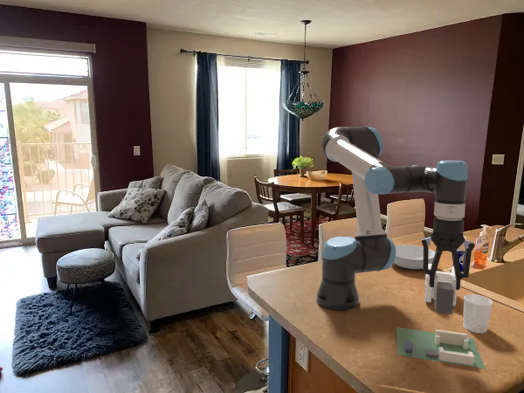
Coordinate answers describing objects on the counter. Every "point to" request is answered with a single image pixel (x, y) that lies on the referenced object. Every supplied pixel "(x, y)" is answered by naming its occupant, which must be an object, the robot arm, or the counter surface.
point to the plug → (444, 297)
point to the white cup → (476, 313)
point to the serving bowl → (411, 256)
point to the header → (453, 339)
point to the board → (431, 346)
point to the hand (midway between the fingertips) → (443, 298)
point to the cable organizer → (442, 277)
